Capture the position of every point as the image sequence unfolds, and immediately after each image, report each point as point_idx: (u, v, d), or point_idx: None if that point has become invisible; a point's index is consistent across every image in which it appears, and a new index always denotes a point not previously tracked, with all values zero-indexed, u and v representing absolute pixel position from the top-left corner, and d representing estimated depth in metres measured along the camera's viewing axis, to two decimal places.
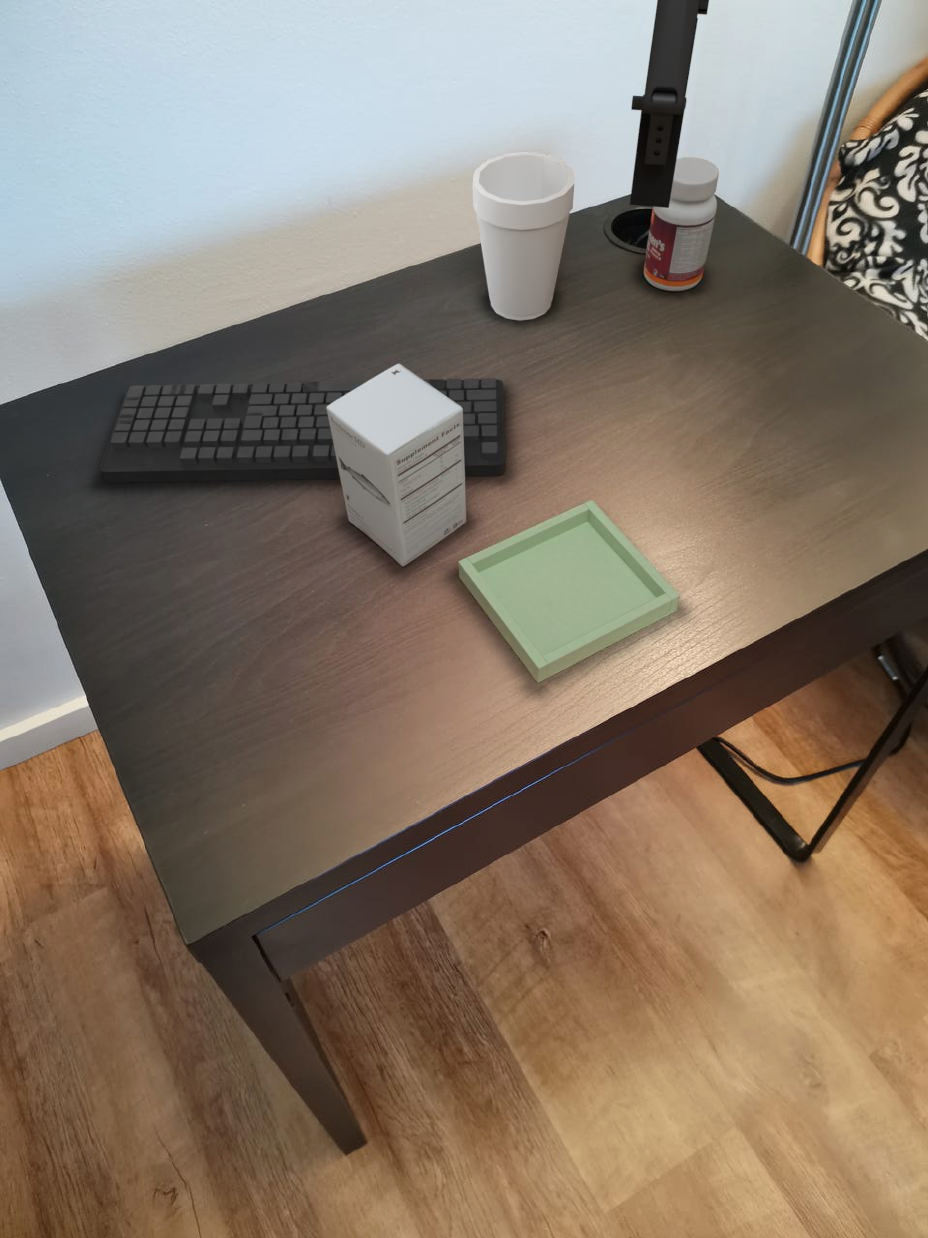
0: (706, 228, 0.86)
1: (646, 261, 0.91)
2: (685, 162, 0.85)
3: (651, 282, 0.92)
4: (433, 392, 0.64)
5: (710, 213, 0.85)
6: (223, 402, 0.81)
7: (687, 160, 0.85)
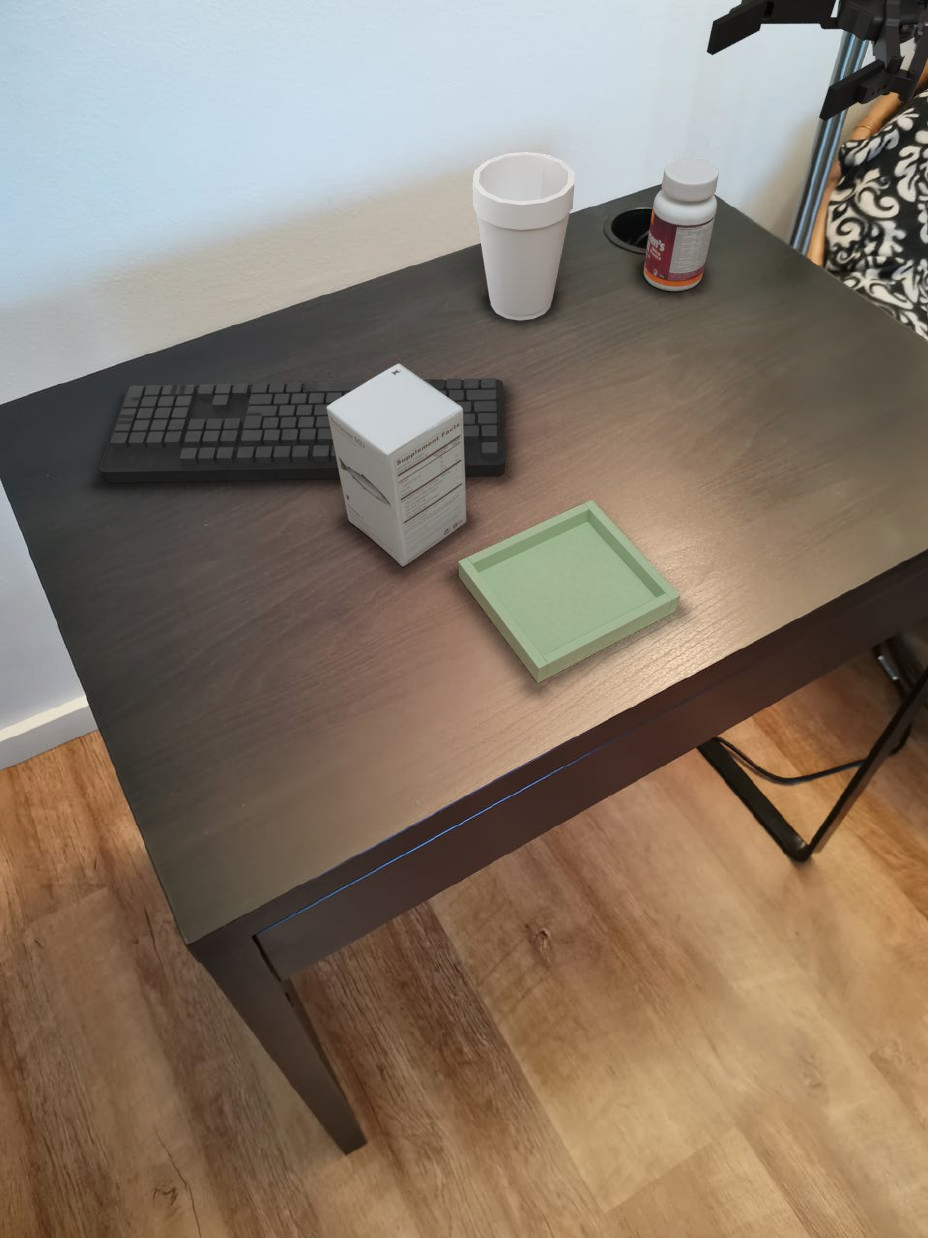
0: (706, 228, 0.86)
1: (646, 261, 0.91)
2: (685, 161, 0.85)
3: (651, 282, 0.92)
4: (433, 392, 0.64)
5: (710, 212, 0.85)
6: (223, 402, 0.81)
7: (687, 160, 0.85)
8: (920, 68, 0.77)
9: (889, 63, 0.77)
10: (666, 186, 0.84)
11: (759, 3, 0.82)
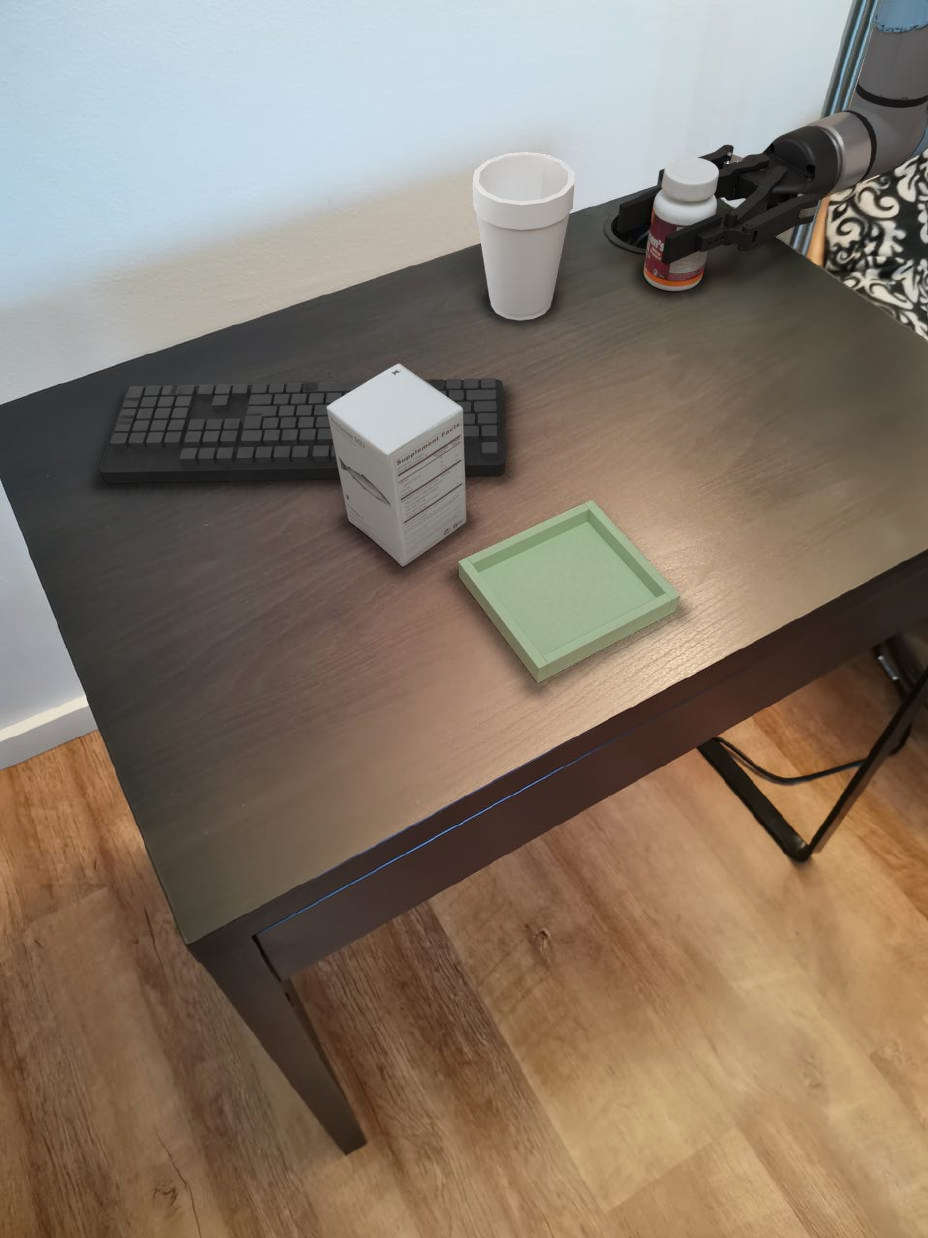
0: None
1: (646, 261, 0.91)
2: (685, 161, 0.85)
3: (651, 282, 0.92)
4: (433, 392, 0.64)
5: (710, 212, 0.85)
6: (223, 402, 0.81)
7: (687, 160, 0.85)
8: (754, 224, 0.85)
9: (725, 217, 0.85)
10: (666, 186, 0.84)
11: None
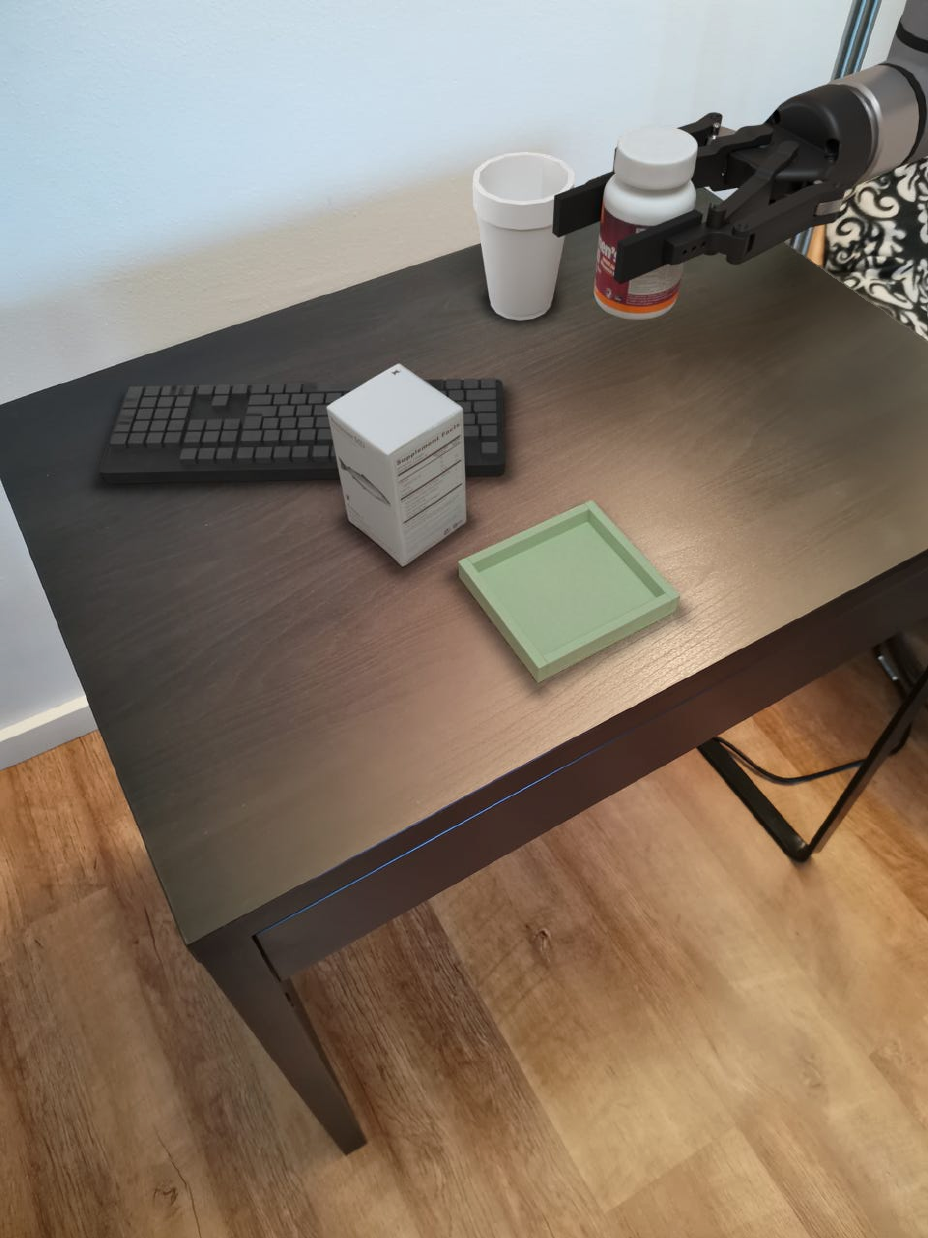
0: None
1: (596, 277, 0.64)
2: (648, 132, 0.57)
3: (604, 307, 0.64)
4: (433, 392, 0.64)
5: (685, 207, 0.58)
6: (223, 403, 0.81)
7: (651, 130, 0.58)
8: (750, 225, 0.57)
9: (707, 214, 0.58)
10: (620, 168, 0.57)
11: None
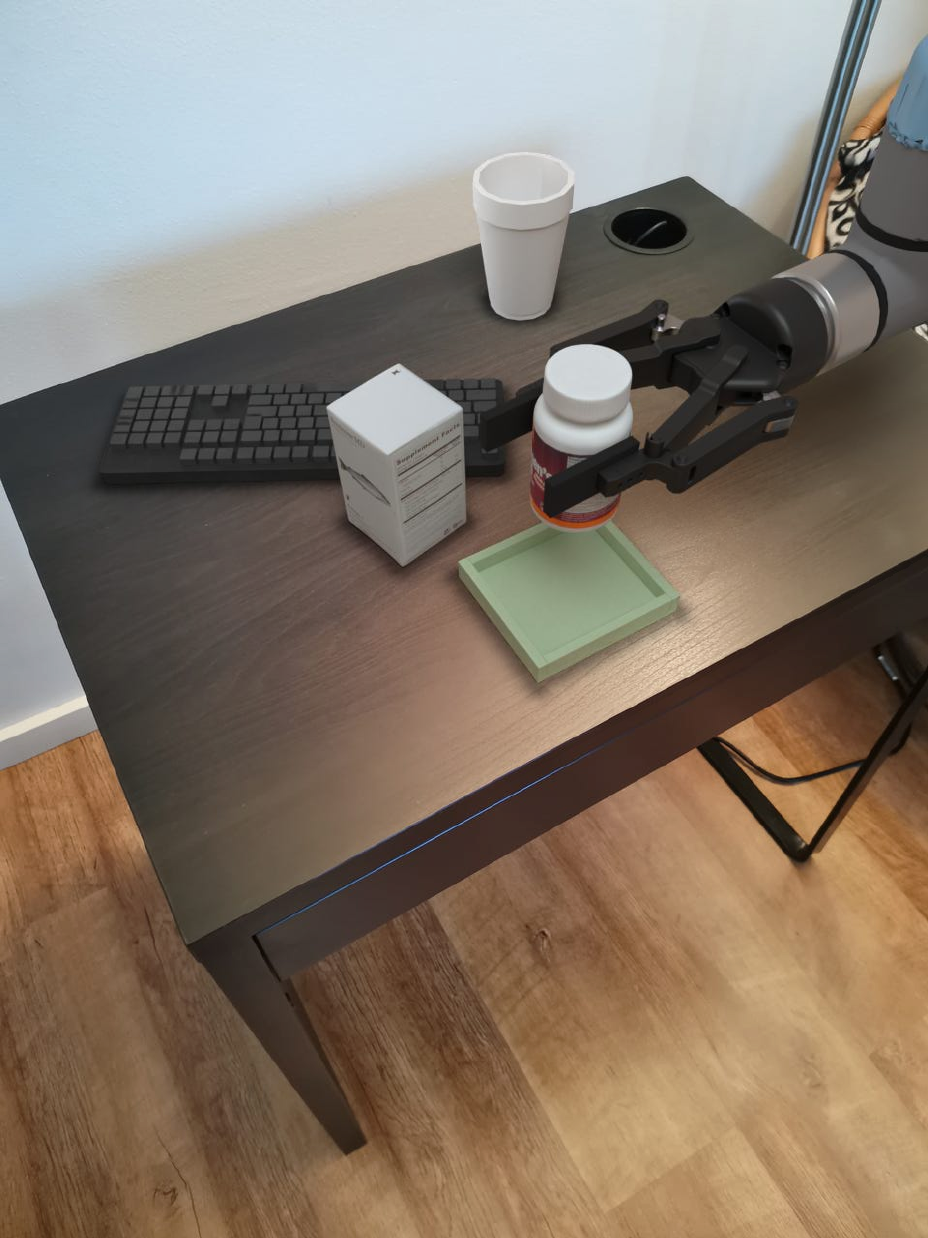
0: None
1: (530, 486, 0.59)
2: (580, 354, 0.53)
3: (539, 518, 0.59)
4: (433, 392, 0.64)
5: (620, 435, 0.53)
6: (222, 403, 0.81)
7: (583, 352, 0.53)
8: (691, 458, 0.52)
9: (645, 442, 0.53)
10: (548, 396, 0.52)
11: None
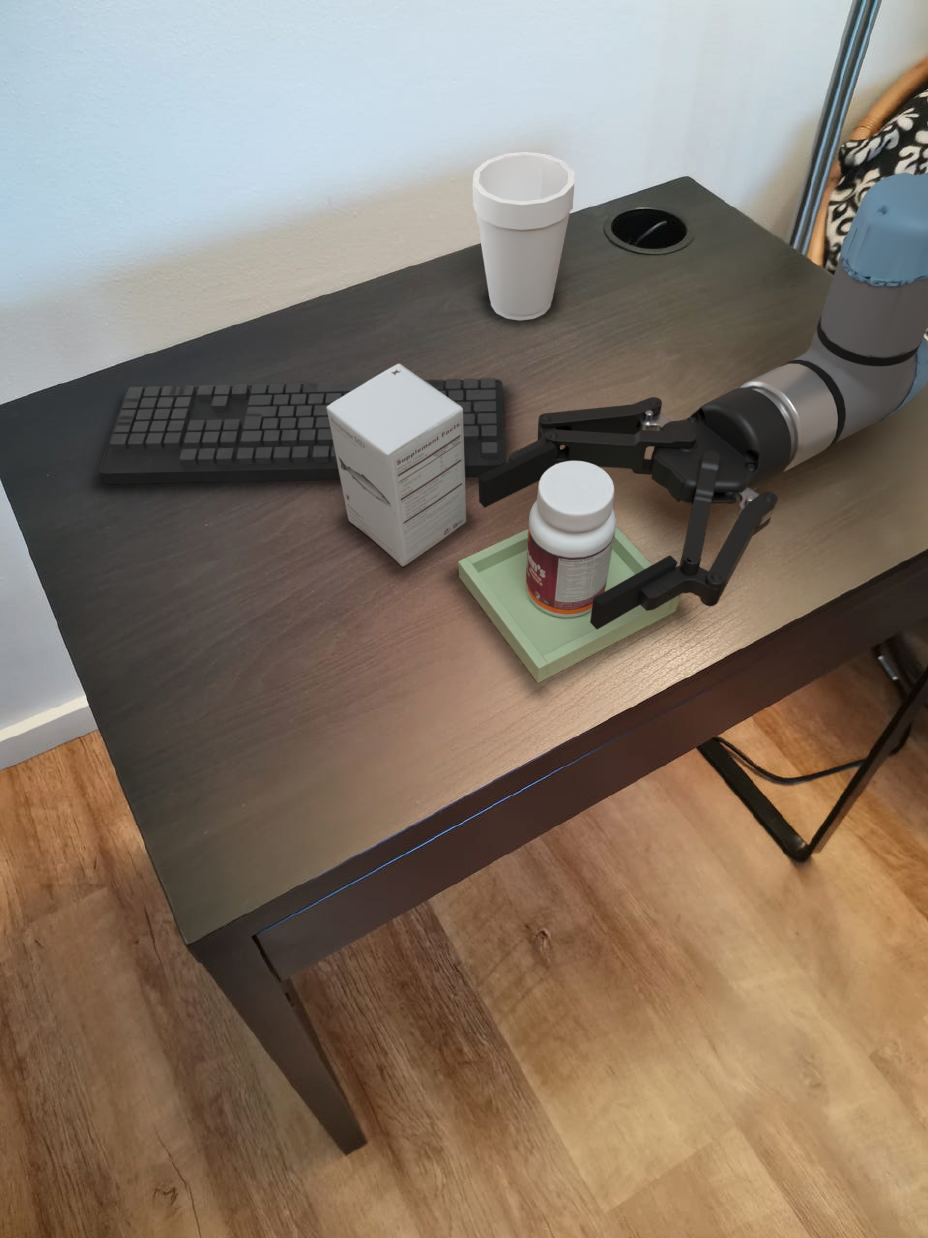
0: (601, 556, 0.62)
1: (527, 576, 0.67)
2: (569, 470, 0.60)
3: (534, 603, 0.67)
4: (433, 392, 0.64)
5: (604, 540, 0.61)
6: (222, 403, 0.80)
7: (572, 468, 0.60)
8: (722, 575, 0.58)
9: (682, 564, 0.59)
10: (541, 508, 0.60)
11: (544, 452, 0.66)
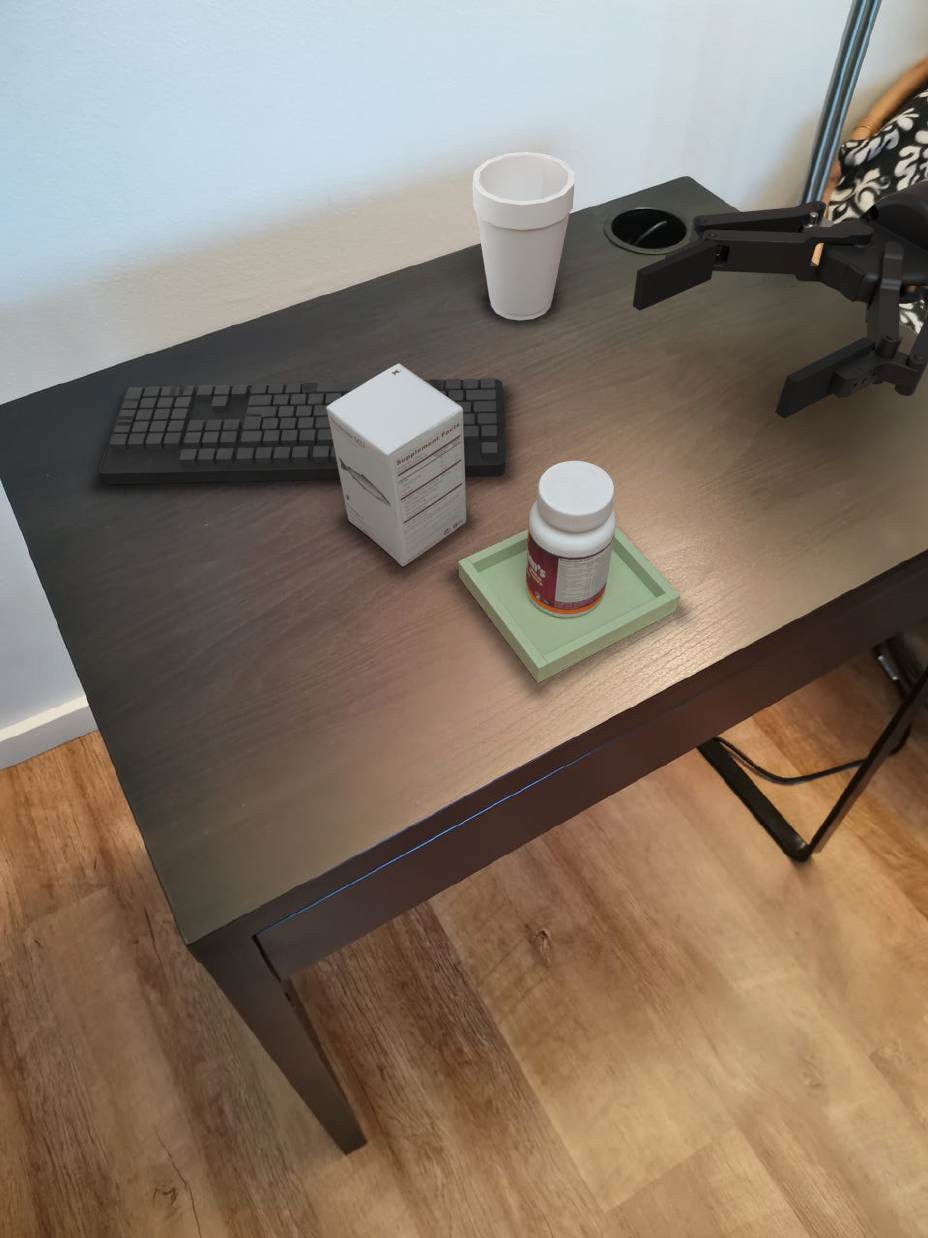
0: (601, 556, 0.62)
1: (527, 576, 0.67)
2: (569, 470, 0.60)
3: (534, 603, 0.67)
4: (433, 392, 0.64)
5: (604, 540, 0.61)
6: (222, 403, 0.80)
7: (572, 468, 0.60)
8: (926, 355, 0.53)
9: (880, 345, 0.53)
10: (541, 508, 0.60)
11: (706, 248, 0.60)
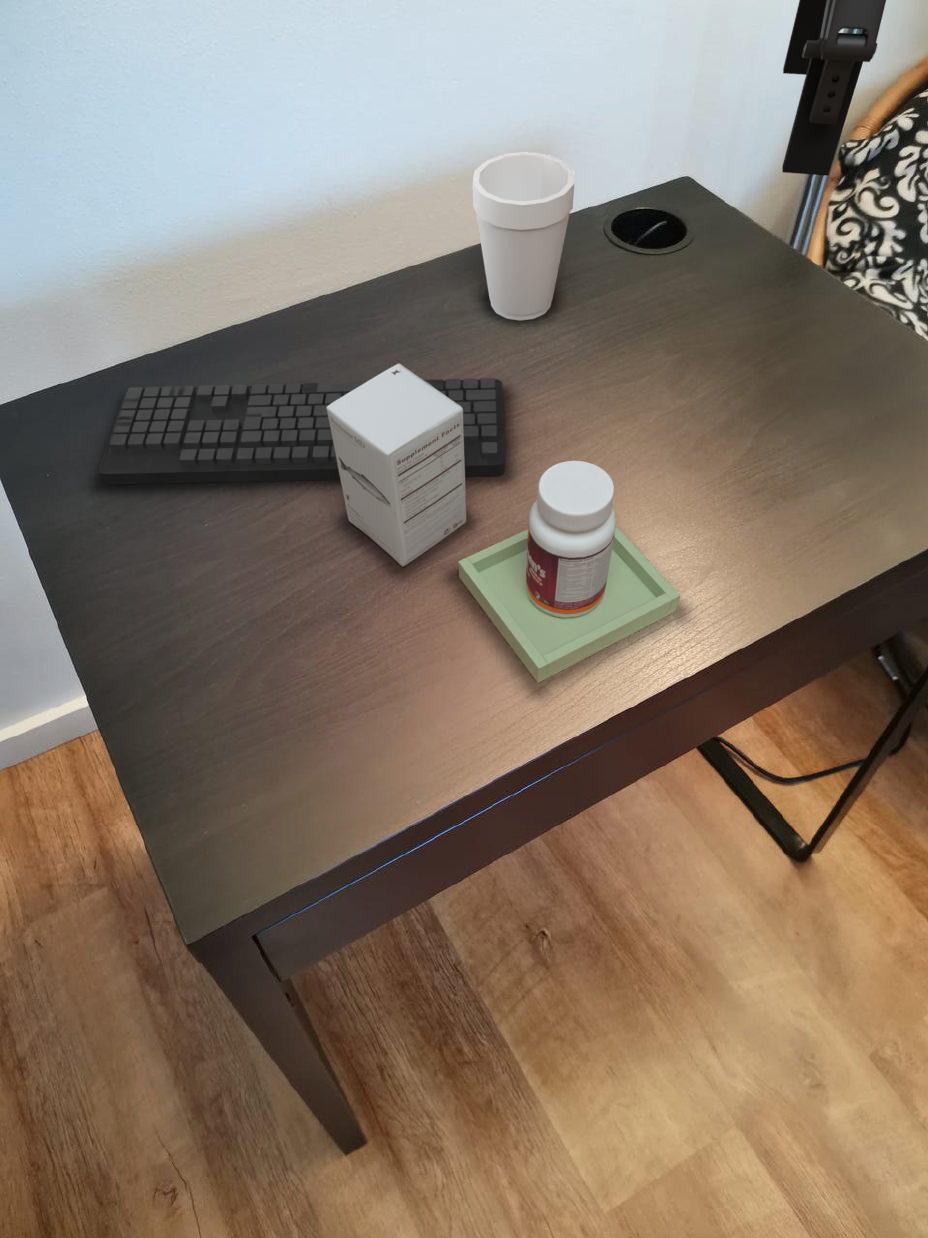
0: (601, 556, 0.62)
1: (527, 576, 0.67)
2: (569, 470, 0.60)
3: (534, 603, 0.67)
4: (433, 392, 0.64)
5: (604, 540, 0.61)
6: (222, 403, 0.80)
7: (572, 468, 0.60)
8: None
9: None
10: (541, 508, 0.60)
11: None
